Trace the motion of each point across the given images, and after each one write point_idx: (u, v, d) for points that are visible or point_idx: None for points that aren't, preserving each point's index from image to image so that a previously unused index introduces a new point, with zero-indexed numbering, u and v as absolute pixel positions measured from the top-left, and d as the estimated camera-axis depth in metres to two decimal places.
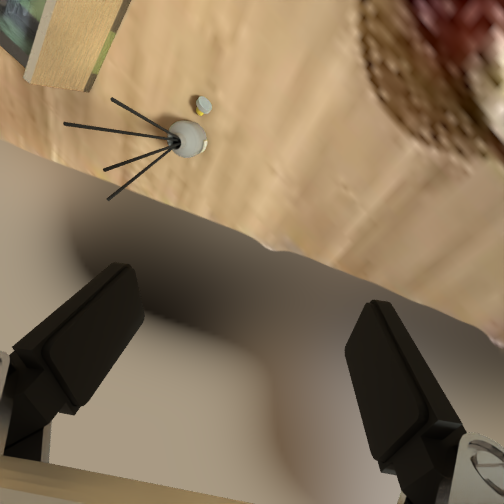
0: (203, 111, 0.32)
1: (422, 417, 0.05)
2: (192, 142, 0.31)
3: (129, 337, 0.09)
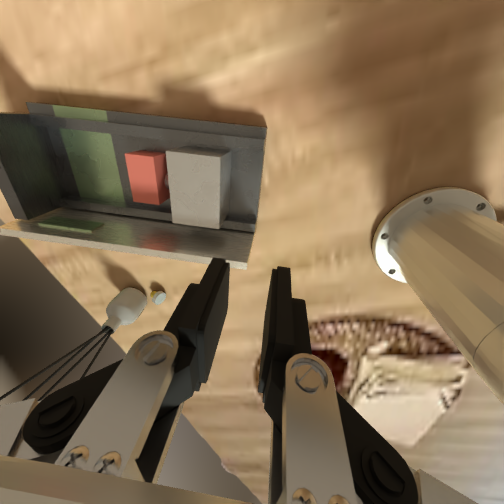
0: None
1: (271, 344, 0.06)
2: (125, 324, 0.35)
3: (222, 325, 0.10)
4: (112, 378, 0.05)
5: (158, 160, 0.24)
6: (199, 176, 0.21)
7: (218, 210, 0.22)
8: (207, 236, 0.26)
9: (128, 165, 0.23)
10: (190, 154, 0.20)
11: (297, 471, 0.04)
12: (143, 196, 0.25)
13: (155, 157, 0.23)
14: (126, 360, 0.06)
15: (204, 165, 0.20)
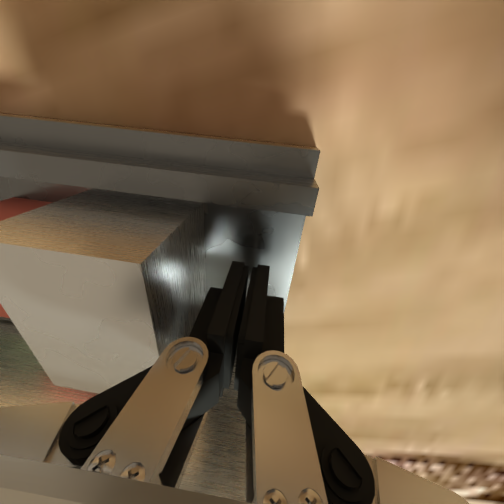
0: None
1: (242, 341, 0.06)
2: None
3: None
4: (143, 382, 0.05)
5: None
6: (89, 307, 0.07)
7: None
8: None
9: None
10: (40, 249, 0.06)
11: (267, 473, 0.04)
12: None
13: None
14: (157, 364, 0.06)
15: (93, 282, 0.06)
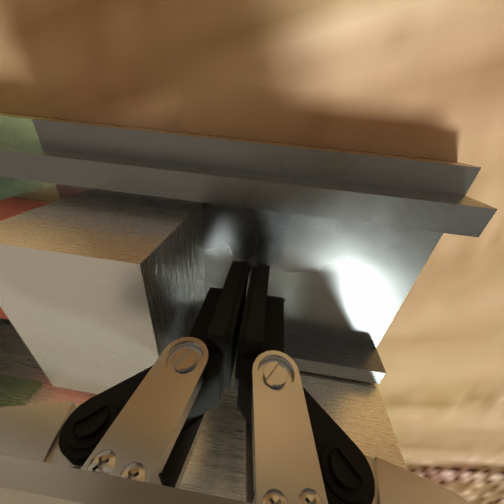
0: None
1: (242, 341, 0.06)
2: None
3: None
4: (143, 382, 0.05)
5: None
6: (88, 308, 0.07)
7: None
8: None
9: None
10: (38, 250, 0.06)
11: (267, 473, 0.04)
12: None
13: None
14: (157, 364, 0.06)
15: (93, 282, 0.06)
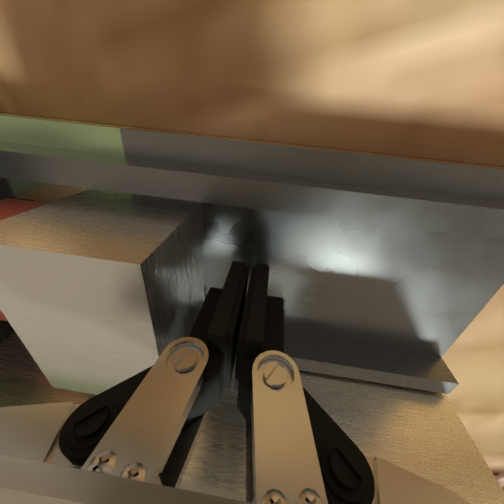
0: None
1: (241, 341, 0.06)
2: None
3: None
4: (143, 382, 0.05)
5: None
6: (87, 308, 0.07)
7: None
8: (362, 426, 0.11)
9: None
10: (37, 250, 0.06)
11: (267, 473, 0.04)
12: None
13: None
14: (157, 364, 0.06)
15: (92, 283, 0.06)
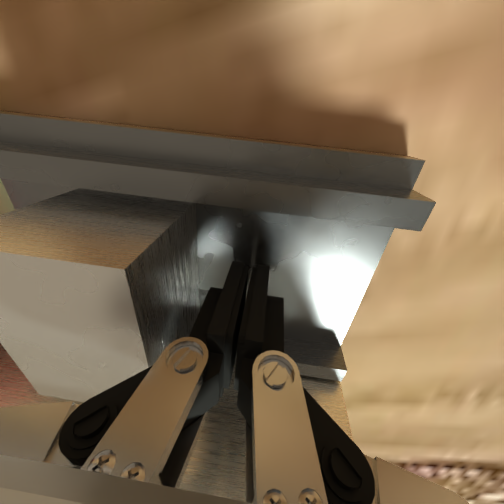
0: None
1: (242, 341, 0.06)
2: None
3: None
4: (143, 382, 0.05)
5: None
6: (71, 315, 0.06)
7: None
8: (240, 412, 0.11)
9: None
10: (15, 254, 0.05)
11: (267, 472, 0.04)
12: None
13: None
14: (157, 364, 0.06)
15: (75, 289, 0.06)
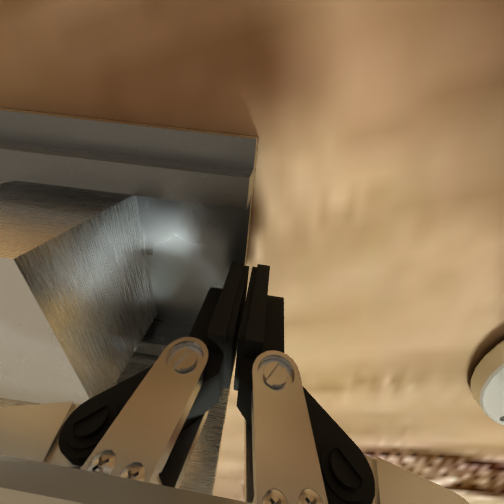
0: None
1: (242, 341, 0.06)
2: None
3: None
4: (143, 382, 0.05)
5: None
6: None
7: (78, 382, 0.07)
8: None
9: None
10: None
11: (267, 473, 0.04)
12: None
13: None
14: (157, 364, 0.06)
15: None
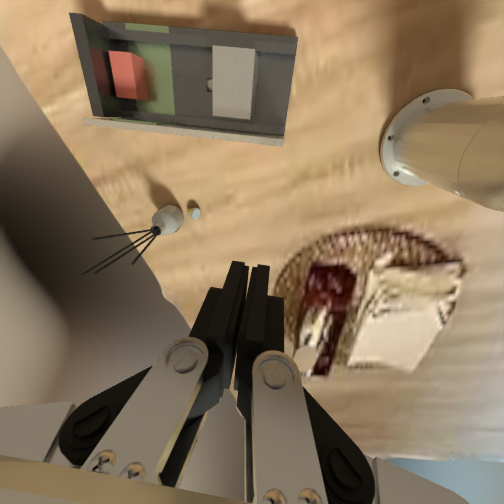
0: (191, 217, 0.42)
1: (242, 341, 0.06)
2: (167, 232, 0.41)
3: None
4: (143, 382, 0.05)
5: (135, 59, 0.30)
6: (237, 68, 0.27)
7: (250, 100, 0.28)
8: (247, 133, 0.31)
9: (111, 61, 0.30)
10: (231, 47, 0.26)
11: (267, 473, 0.04)
12: (124, 91, 0.31)
13: (132, 54, 0.29)
14: (157, 364, 0.06)
15: (242, 57, 0.26)
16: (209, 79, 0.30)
